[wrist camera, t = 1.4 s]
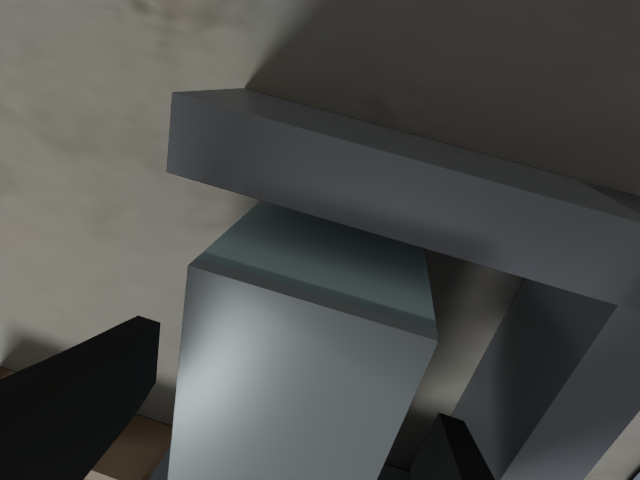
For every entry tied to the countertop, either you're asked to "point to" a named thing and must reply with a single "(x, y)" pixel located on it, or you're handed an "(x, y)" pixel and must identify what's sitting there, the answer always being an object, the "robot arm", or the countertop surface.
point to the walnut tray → (130, 449)
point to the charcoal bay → (464, 243)
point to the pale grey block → (298, 350)
